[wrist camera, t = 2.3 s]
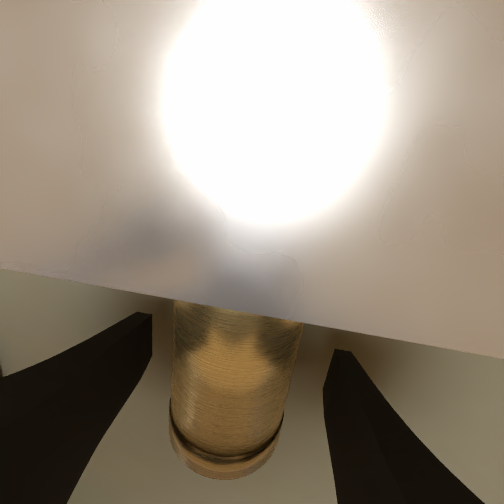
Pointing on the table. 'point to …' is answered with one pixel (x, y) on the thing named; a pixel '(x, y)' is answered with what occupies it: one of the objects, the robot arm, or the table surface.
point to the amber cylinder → (228, 387)
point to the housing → (264, 157)
